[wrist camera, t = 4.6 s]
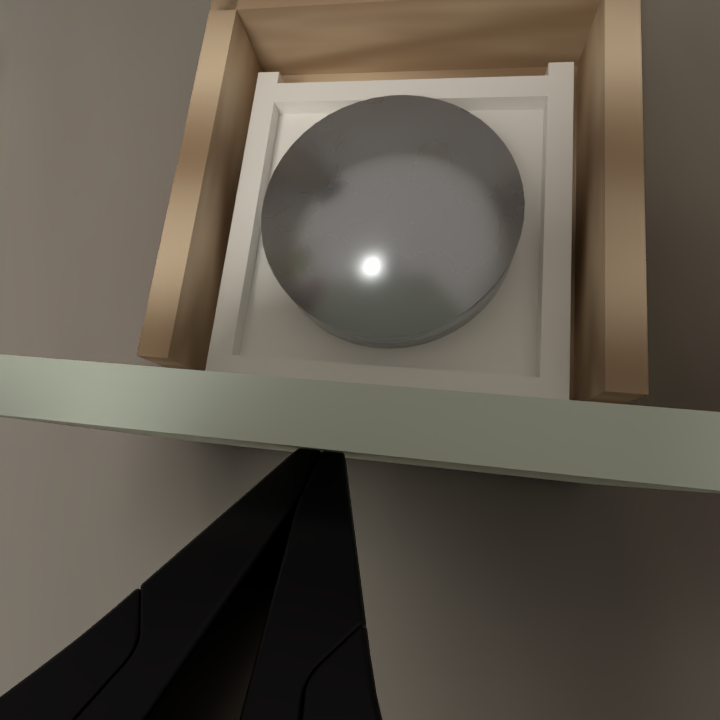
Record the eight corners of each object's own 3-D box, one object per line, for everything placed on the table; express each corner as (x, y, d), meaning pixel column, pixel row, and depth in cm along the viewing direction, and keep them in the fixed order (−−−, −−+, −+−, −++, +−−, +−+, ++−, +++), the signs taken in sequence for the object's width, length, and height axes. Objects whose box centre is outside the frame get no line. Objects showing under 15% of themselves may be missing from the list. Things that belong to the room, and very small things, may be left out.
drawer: (589, 484, 14) (812, 500, 6) (187, 440, 16) (-71, 407, 8) (591, 95, 17) (743, -268, 9) (248, 103, 19) (105, -180, 11)
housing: (604, 410, 15) (648, 394, 12) (189, 376, 17) (136, 355, 14) (604, 49, 18) (639, -40, 15) (248, 62, 20) (214, -12, 17)
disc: (364, 399, 15) (356, 390, 13) (235, 220, 17) (216, 195, 16) (570, 247, 15) (585, 221, 13) (416, 88, 17) (413, 51, 16)
